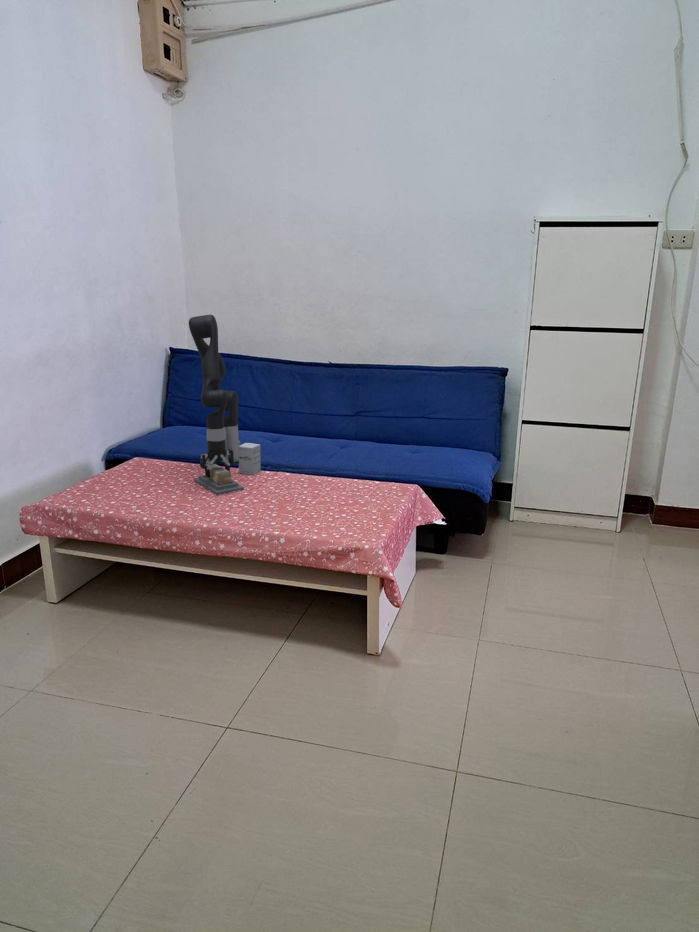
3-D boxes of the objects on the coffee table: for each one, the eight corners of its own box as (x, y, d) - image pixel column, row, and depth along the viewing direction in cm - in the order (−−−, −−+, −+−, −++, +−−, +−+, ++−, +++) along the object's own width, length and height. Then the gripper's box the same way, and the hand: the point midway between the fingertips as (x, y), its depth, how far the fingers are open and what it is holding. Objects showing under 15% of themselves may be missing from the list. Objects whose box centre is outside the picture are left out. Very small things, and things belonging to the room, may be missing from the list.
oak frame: (205, 479, 280) (204, 465, 278) (216, 477, 283) (215, 463, 281) (220, 488, 269) (219, 473, 268) (231, 486, 272) (230, 471, 270)
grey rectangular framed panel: (193, 481, 281) (193, 475, 281) (219, 476, 288) (219, 470, 287) (216, 495, 265) (216, 489, 264) (243, 489, 272) (243, 483, 271)
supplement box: (238, 473, 293) (237, 446, 289) (247, 468, 299) (246, 442, 296) (253, 475, 290) (252, 447, 287) (261, 470, 297) (260, 443, 293)
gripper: (227, 433, 277) (229, 470, 282) (195, 438, 269) (198, 476, 274) (235, 437, 272) (237, 475, 276) (203, 442, 263) (205, 481, 268)
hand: (217, 475), depth 275 cm, fingers open, 8 cm apart
